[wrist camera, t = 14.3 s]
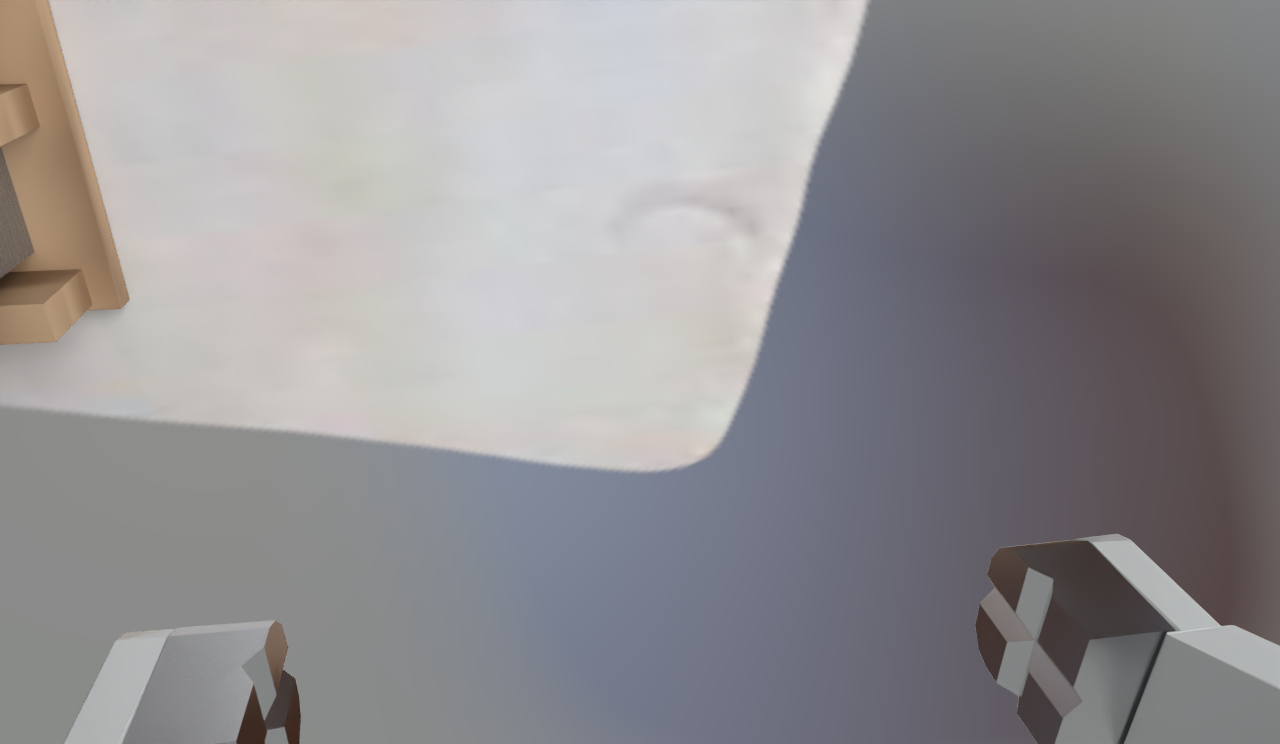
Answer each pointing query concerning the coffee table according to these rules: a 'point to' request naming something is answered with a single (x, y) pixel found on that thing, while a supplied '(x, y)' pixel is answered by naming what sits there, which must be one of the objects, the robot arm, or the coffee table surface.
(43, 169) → the twin post stand
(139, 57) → the coffee table surface
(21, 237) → the grey block
